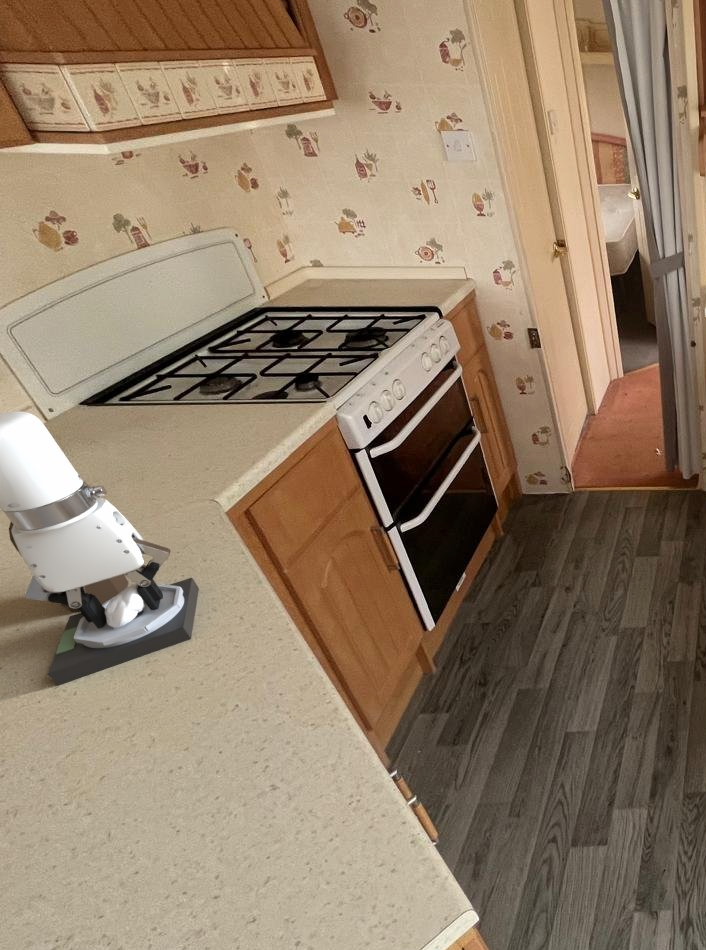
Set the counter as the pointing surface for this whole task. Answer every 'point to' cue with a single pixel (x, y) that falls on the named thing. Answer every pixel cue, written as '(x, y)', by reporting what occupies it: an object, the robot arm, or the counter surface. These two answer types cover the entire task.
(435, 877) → the counter surface
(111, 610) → the dumpling
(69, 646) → the scale
